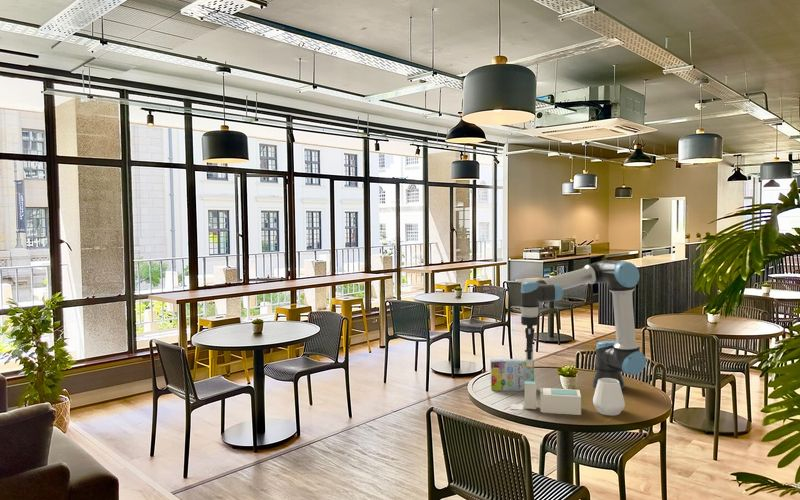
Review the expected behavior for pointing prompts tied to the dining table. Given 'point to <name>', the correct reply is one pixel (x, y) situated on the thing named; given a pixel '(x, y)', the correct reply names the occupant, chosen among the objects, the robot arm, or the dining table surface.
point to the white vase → (608, 397)
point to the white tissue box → (560, 401)
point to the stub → (530, 394)
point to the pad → (516, 407)
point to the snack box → (510, 374)
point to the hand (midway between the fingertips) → (529, 362)
